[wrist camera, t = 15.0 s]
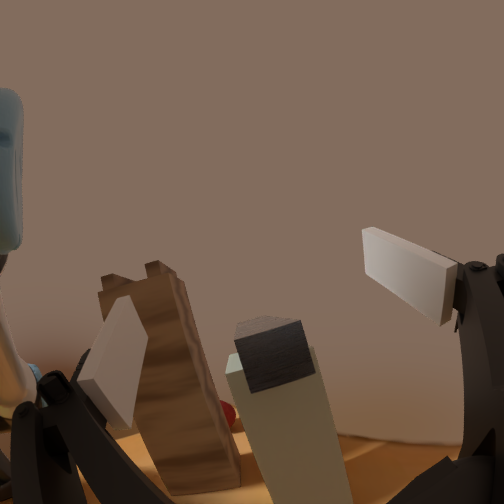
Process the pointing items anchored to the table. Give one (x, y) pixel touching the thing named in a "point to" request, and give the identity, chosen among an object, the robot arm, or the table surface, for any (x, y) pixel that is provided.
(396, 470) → the table surface
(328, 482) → the rest block
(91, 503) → the table surface
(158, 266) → the stand
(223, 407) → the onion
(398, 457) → the table surface
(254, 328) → the bar
